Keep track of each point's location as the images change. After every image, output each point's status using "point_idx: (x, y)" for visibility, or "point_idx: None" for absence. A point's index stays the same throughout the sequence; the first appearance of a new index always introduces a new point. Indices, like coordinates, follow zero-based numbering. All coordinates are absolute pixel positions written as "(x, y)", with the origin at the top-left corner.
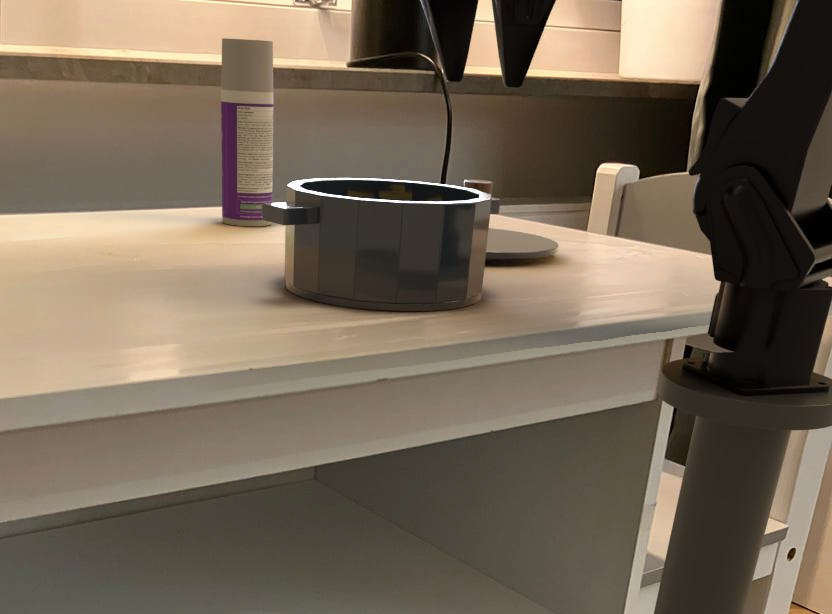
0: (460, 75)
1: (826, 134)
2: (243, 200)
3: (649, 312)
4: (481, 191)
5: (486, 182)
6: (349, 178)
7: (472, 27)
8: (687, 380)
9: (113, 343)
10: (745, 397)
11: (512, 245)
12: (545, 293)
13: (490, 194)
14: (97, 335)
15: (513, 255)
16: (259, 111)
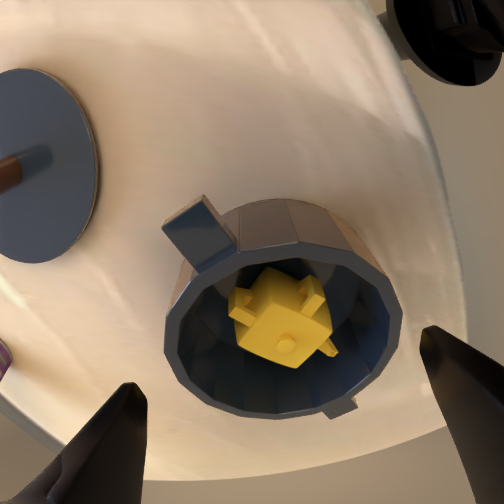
0: (133, 392)
1: None
2: (3, 367)
3: (356, 32)
4: None
5: None
6: (179, 378)
7: (90, 460)
8: (463, 74)
9: (412, 401)
10: (492, 60)
11: (40, 126)
12: (264, 115)
13: (300, 243)
14: (397, 409)
15: (89, 128)
16: None
